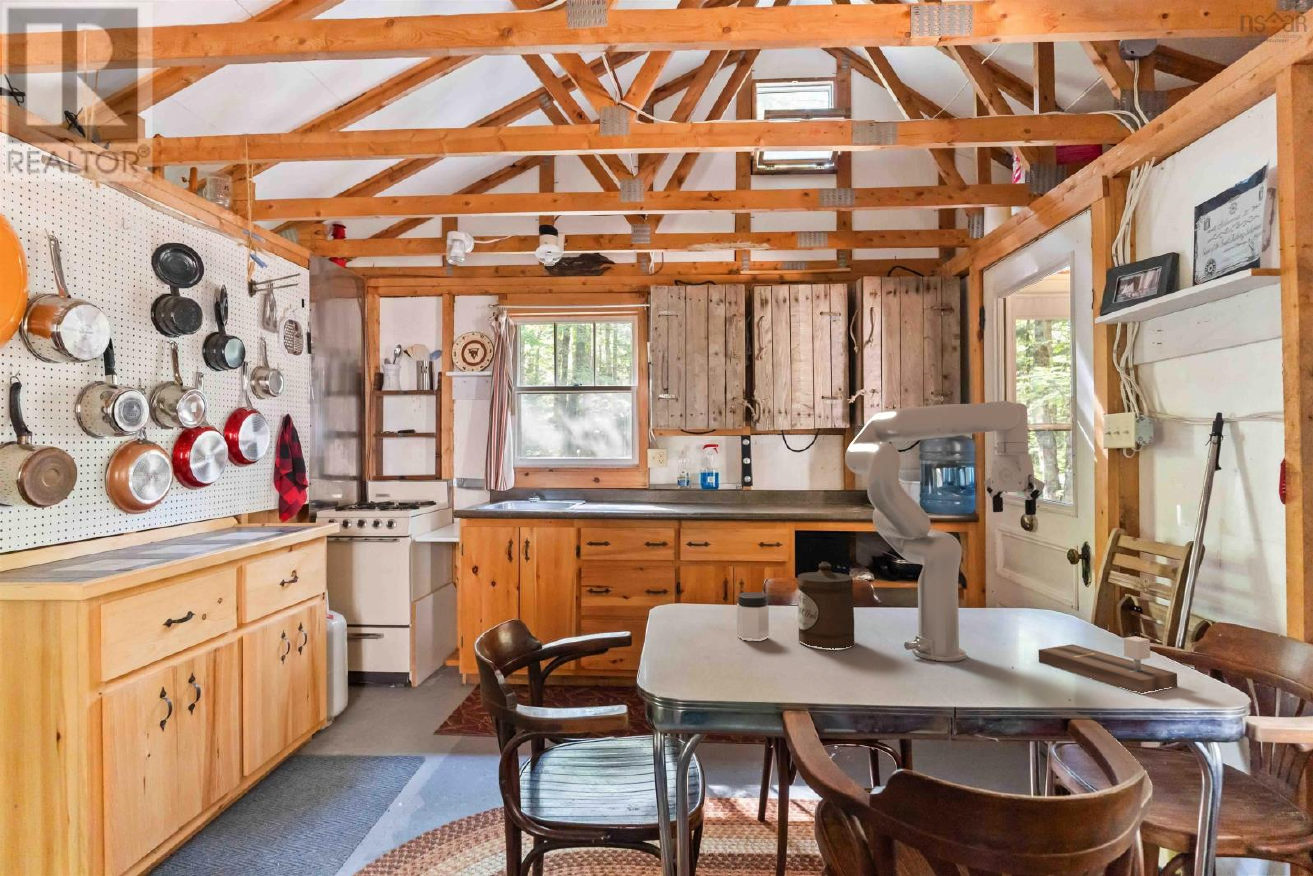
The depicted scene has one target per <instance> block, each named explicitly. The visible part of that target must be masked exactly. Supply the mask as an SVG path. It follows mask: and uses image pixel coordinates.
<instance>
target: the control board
mask: <svg viewBox="0 0 1313 876" xmlns="http://www.w3.org/2000/svg"><path fill="white" fill-rule="evenodd" d="M1038 663H1040V664H1043V665H1046V664H1047V666H1050V667H1052V668H1057V669H1059V668H1060V669H1059V670H1062V669H1063V671H1065V670H1066V672H1069V673H1072V674H1075V673H1076V674H1075V675H1078V676H1081V677H1085V678H1088V679H1090V678H1092V679H1091V680H1093V679H1094V681H1097V682H1099V683H1100V682H1101V683H1103V682H1105V683H1104V684H1106V683H1107V684H1106V685H1109V684H1110V686H1112V685H1113V687H1115V686H1116V687H1115V688H1119V687H1122V688H1125V689H1128V690H1131V691H1137V692H1140V693H1144V692H1148V691H1155V690H1159V689H1164V688H1169V687H1176V688H1178V673H1177V672H1174V671H1169V670H1166V669H1162V668H1159V667H1156V666H1151V665H1148V664H1144V663H1141V670H1137V669H1134V660H1129V659H1126V658H1123V657H1119V656H1115V655H1112V654H1108V653H1105V652H1102V651H1099V650H1098V651H1097V650H1094V649H1091V648H1086V647H1083V646H1079V645H1076V644H1067V645H1066V644H1065V645H1059V646H1054V647H1047V648H1040V649H1038ZM1122 688H1121V689H1122ZM1125 689H1124V690H1125ZM1128 690H1127V691H1128ZM1131 691H1130V692H1131Z"/></svg>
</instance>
